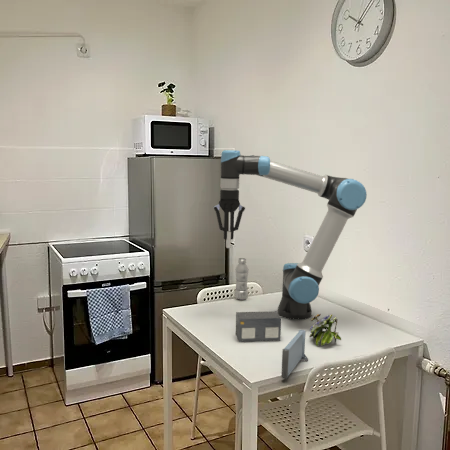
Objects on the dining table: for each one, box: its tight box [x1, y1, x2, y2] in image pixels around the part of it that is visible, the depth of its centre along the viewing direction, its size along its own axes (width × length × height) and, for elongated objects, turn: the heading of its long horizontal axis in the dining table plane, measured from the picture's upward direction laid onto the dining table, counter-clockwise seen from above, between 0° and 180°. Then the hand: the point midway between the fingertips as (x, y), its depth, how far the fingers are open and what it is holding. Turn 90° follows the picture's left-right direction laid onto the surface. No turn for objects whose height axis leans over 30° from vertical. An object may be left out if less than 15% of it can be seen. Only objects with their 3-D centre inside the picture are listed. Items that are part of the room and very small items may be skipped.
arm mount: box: [298, 353, 309, 363], centre depth 171 cm, size 4×4×1 cm
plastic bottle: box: [234, 257, 249, 301], centre depth 238 cm, size 6×7×20 cm
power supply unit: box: [235, 310, 282, 343], centre depth 189 cm, size 16×9×9 cm, turn 98°
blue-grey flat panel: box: [281, 329, 307, 379], centre depth 162 cm, size 21×2×9 cm, turn 155°
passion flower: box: [308, 313, 342, 347], centre depth 187 cm, size 13×12×14 cm
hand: (228, 247), depth 200 cm, fingers closed
